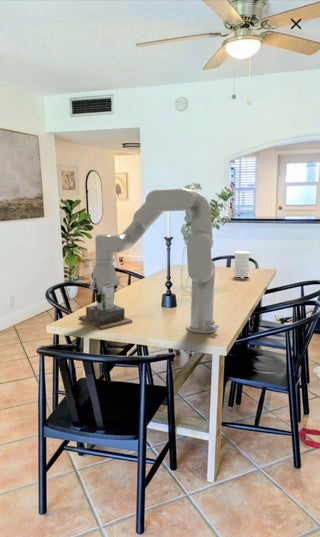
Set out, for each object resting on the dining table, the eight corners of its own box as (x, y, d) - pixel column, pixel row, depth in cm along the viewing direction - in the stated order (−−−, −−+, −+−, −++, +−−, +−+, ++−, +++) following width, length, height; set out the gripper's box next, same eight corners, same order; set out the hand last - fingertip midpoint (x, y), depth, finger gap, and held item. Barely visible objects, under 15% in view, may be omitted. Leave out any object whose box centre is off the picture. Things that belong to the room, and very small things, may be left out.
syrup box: (96, 314, 178) (95, 283, 175) (106, 312, 182) (106, 281, 179) (104, 317, 174) (103, 285, 171) (114, 314, 178) (113, 283, 175)
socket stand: (132, 322, 176) (132, 309, 175) (101, 329, 166) (101, 316, 165) (108, 312, 191) (108, 300, 190) (79, 318, 181) (78, 306, 180)
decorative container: (239, 274, 289) (240, 250, 286) (252, 277, 280) (253, 252, 277) (229, 276, 282) (230, 251, 278) (242, 279, 273) (243, 253, 270)
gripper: (115, 259, 182) (116, 296, 185) (83, 263, 171) (84, 302, 174) (125, 261, 176) (125, 299, 179) (91, 265, 165) (92, 306, 168)
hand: (105, 300), depth 177 cm, fingers closed on syrup box, 6 cm apart
